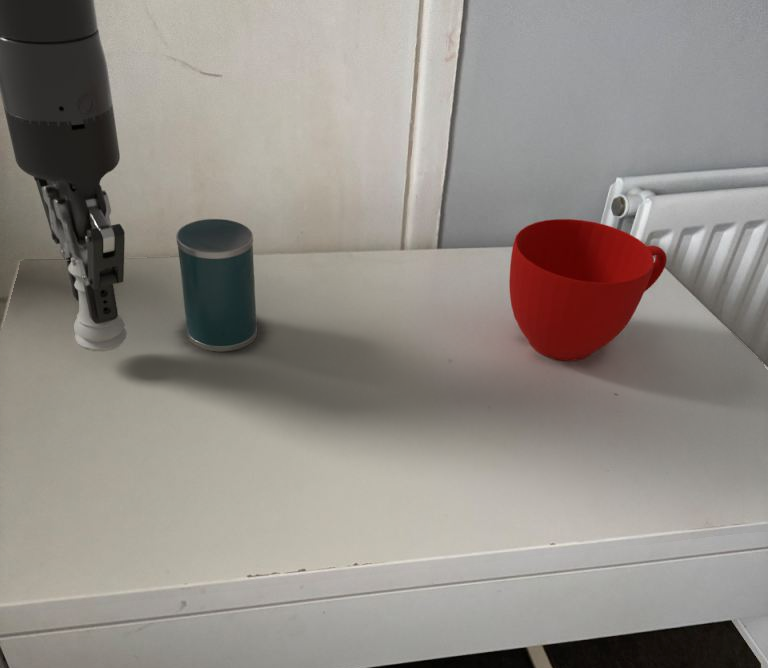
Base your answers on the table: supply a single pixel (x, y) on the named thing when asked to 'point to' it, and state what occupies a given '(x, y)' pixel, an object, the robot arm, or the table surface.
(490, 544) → the table surface
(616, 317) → the ceramic cup
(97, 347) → the rook chess piece
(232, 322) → the tin can
